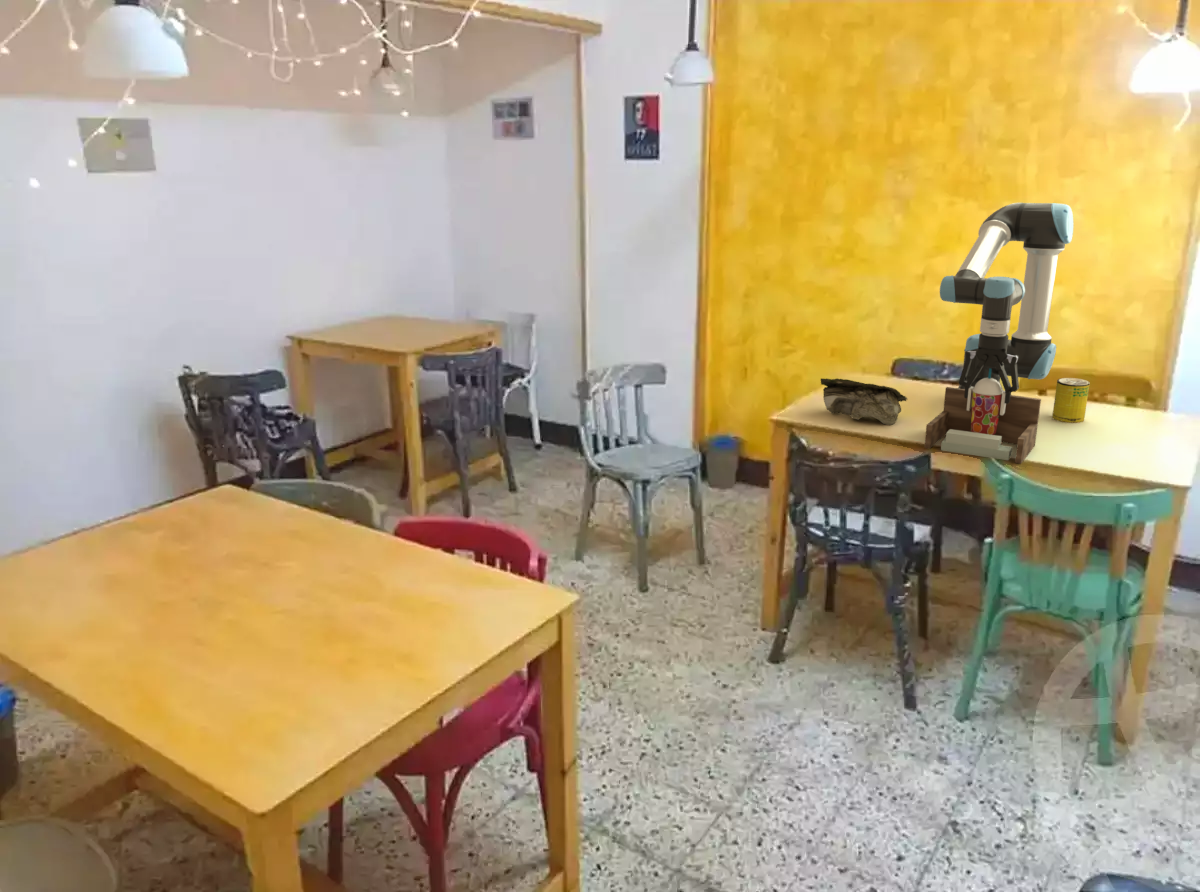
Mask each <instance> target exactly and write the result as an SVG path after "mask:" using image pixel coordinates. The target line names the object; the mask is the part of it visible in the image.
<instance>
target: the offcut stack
mask: <svg viewBox="0 0 1200 892" xmlns="http://www.w3.org/2000/svg"><path fill="white" fill-rule="evenodd" d="M1001 440H1002V436H996V435H989V434H982V433H975V432H968V431H960V430H953V429H950V430H949V431H948V432H947V433H946V435H945V438H943V440H942V441H941V443H940V444H941V446H940V451H942V452H949V453H957V454H963V455H969V456H970V455H971V456H975V457H976V456H978V457H984V458H989V459H990V458H992V459H997V460H1005V461H1009V460H1010V459H1011V457H1012V452H1013V447H1012V446H1007V445H1002V442H1001Z"/></svg>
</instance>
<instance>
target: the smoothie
mask: <svg viewBox="0 0 1200 892" xmlns="http://www.w3.org/2000/svg"><path fill="white" fill-rule="evenodd" d="M991 370H992V369H991V368H989V375H988V378H983V379H981V380H979V381H978V382H977V383H976V385H975V386H974V388H972V413H971V432H975V433H982V434H989V435H994V434H995V433H996V430H997V424H998V419H999V414H1000V408H1001V400H1002V393H1003V392H1004V391H1005V389H1004V388H1003V387H1002V386H1003V385H1002V383H1001V382H1000V383H999V382H998V381H997V380H995V379H993V378H991ZM1003 389H1004V390H1003Z"/></svg>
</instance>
